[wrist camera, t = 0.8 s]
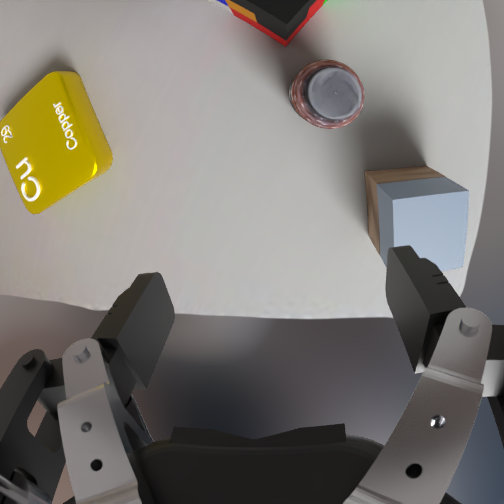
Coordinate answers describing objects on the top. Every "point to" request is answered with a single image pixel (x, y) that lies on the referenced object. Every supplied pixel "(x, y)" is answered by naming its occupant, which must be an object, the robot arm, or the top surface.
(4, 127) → the element tile
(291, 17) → the puzzle toy
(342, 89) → the supplement bottle
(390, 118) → the top surface
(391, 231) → the tower top block
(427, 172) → the tower base block
